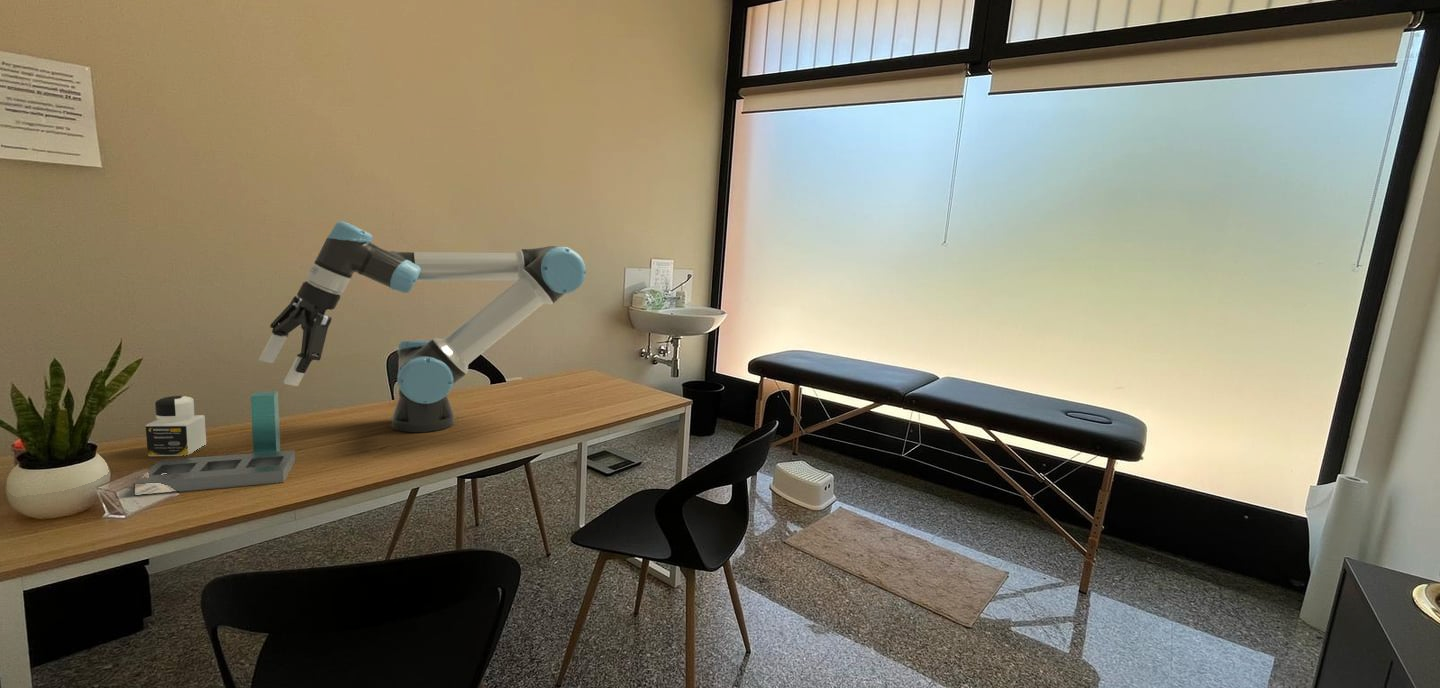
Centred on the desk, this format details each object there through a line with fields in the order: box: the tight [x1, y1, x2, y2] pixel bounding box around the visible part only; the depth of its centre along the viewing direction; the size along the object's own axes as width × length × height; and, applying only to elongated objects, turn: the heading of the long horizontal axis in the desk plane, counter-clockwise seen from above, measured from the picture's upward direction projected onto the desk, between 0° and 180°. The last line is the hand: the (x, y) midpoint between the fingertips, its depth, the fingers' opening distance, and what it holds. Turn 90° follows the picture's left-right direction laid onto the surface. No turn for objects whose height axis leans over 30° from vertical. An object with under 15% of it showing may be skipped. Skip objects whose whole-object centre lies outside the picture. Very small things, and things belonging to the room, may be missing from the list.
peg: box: [250, 390, 281, 453], centre depth 127 cm, size 4×4×14 cm
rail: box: [133, 450, 296, 493], centre depth 115 cm, size 22×12×2 cm, turn 117°
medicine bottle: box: [145, 395, 207, 457], centre depth 126 cm, size 7×7×12 cm
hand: (277, 372), depth 128 cm, fingers open, 13 cm apart
